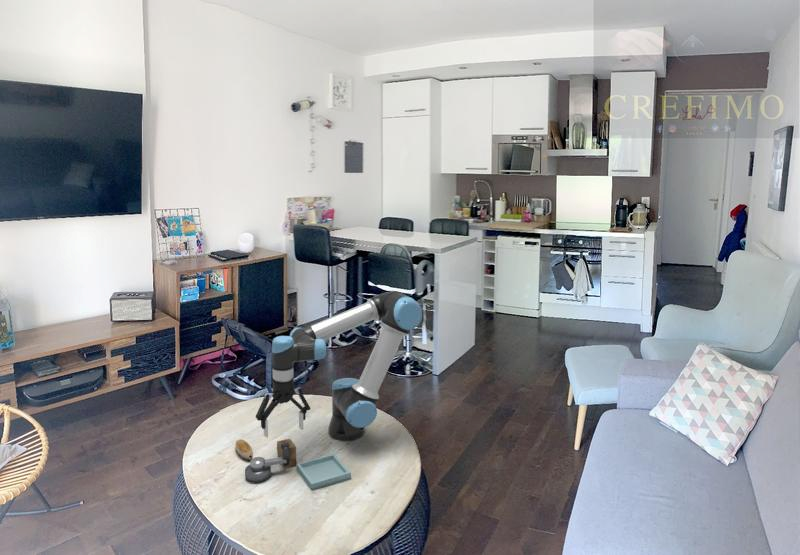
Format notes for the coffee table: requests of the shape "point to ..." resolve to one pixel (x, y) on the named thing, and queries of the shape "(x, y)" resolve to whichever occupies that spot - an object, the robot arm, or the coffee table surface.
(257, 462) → the crank
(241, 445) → the sweet potato
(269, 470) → the crank base
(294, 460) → the stop block
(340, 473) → the tray
